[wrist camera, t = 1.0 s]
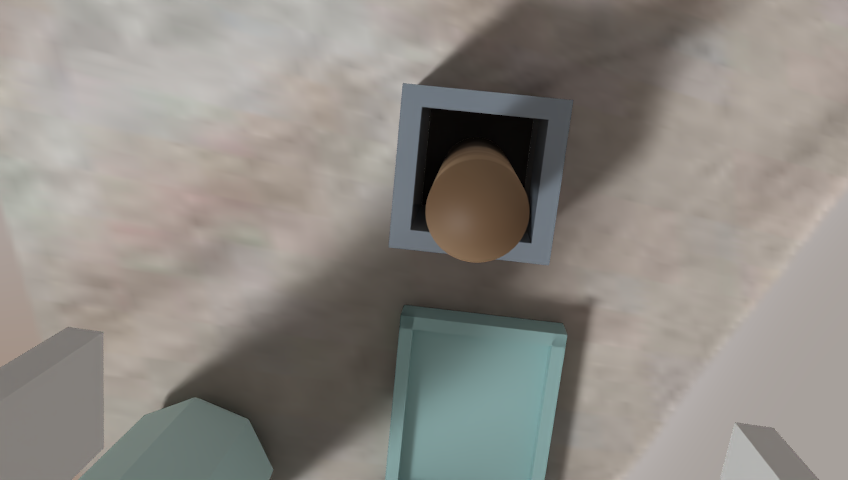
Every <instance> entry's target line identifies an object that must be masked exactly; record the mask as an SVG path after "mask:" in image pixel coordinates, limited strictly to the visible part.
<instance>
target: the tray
mask: <svg viewBox="0 0 848 480" xmlns="http://www.w3.org/2000/svg"><path fill="white" fill-rule="evenodd" d="M566 341H567V333H566V330H565V328H564V325H563V323H555V322H547V321H538V320H529V319H521V318H512V317H504V316H495V315H487V314H478V313H470V312H461V311H452V310H444V309H435V308H427V307H418V306H410V305H404V307H403V310H402V313H401V318H400V329H399V339H398V350H397V361H396V371H395V382H394V392H393V403H392V414H391V424H390V435H389V446H388V456H387V467H386V478H385V480H545V474H546V467H547V461H548V455H549V448H550V442H551V436H552V429H553V423H554V417H555V410H556V404H557V398H558V391H559V385H560V379H561V372H562V366H563V360H564V353H565V347H566Z"/></svg>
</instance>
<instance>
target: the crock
mask: <svg viewBox="0 0 848 480" xmlns="http://www.w3.org/2000/svg"><path fill="white" fill-rule="evenodd" d="M572 106H573V100H567V99H557V98H547V97H536V96H526V95H516V94H506V93H496V92H486V91H476V90H466V89H456V88H446V87H436V86H426V85H416V84H406V83H403V87H402V98H401V110H400V121H399V133H398V144H397V156H396V167H395V179H394V190H393V202H392V213H391V225H390V236H389V247H390V248H399V249H408V250H417V251H425V252H434V253H443V254H448V253H446V252H445V251H444V250H442V249H441V248H440V247H439V246H438V244H437V243H436V242H435V240H434V239H433V237H432V236H431V234H430V232H429V229H428V226H427V222H426V214H425V212H426V205H422V199H423V188H424V178H425V168H426V158H427V147H428V137H429V127H430V117H431V108H437V109H447V110H457V111H467V112H477V113H487V114H497V115H507V116H517V117H526V118H533V125H532V132H531V140H530V147H529V155H528V162H527V170H526V177H525V185H524V190H525V192H526V194H527V197H528V202H529V211H530V212H529V221H528V225H527V228H526V231H525V233H524V235H523V237H522V239H521V240H520V241H519V243H518V244H517V245H516V246H515V247H514V248H513V249H512V250H511V251H510V252H508V253H507V254H505V255H504V256H502V257H500V258H498V259H497V260H505V261H514V262H523V263H532V264H541V265H549V263H550V256H551V249H552V242H553V235H554V228H555V222H556V215H557V208H558V201H559V194H560V188H561V181H562V174H563V167H564V160H565V154H566V147H567V140H568V133H569V126H570V120H571V113H572Z"/></svg>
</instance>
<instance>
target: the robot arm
mask: <svg viewBox="0 0 848 480" xmlns="http://www.w3.org/2000/svg"><path fill="white" fill-rule="evenodd" d="M103 448H104V398H103V332H100V331H93V330H86V329H79V328H72V327H67V328H65V329H64V330H62V331H60V332H59V333H57V334H55V335H54V336H52V337H50V338H49V339H47V340H45V341H44V342H42V343H40V344H39V345H37V346H35V347H34V348H32V349H30V350H29V351H27V352H25V353H24V354H22V355H20V356H19V357H17V358H15V359H14V360H12V361H10V362H9V363H7V364H5V365H4V366H2V367H0V480H72V479H73V478H74V477H75V476H76V475H77V474H78V473H79V472H80V471H81V470H82V469H83V468H84V467H85V466H86V465H87V464H88V463H89V462H90V461H91V460H92V459H93V458H94V457H95V456H96V455H97V454H98V453H99V452H100V451H101V450H102V449H103ZM720 480H819V479H818V478H817V477H816V476H815V474H814V473H813V472H812V471H811V470H810V469H809V468H808V466H807V465H806V464H805V463H804V462H803V461H802V460H801V458H799V456H798V455H797V454H796V453H795V452H794V451H793V449H792V448H791V447H790V446H789V445H788V444H787V443H786V441H784V439H782V437H781V436H780V435H779V434H778V433H777V431H776V430H775V429H774V428H771V427H763V426H757V425H749V424H743V423H736V422H735V425H734V428H733V432H732V436H731V440H730V443H729V447H728V451H727V455H726V458H725V462H724V466H723V470H722V473H721V477H720Z"/></svg>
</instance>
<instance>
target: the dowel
mask: <svg viewBox="0 0 848 480" xmlns="http://www.w3.org/2000/svg"><path fill="white" fill-rule="evenodd" d="M529 212H530V211H529V202H528V197H527V194H526V192H525V190H524V188H523V186H522V184H521V182H520V180H519V179H518V177H517V175H516V173H515V171H514V170H513V168H512V166H511V164H510V162H509V161H508V159H507V157H506V155H505V153H504V152H503V150H502V149H501V148H500V147H499V146H498V145H497V144H496V143H494V142H492V141H490V140H488V139H485V138H480V137H471V138H466V139H464V140H461V141H459V142H458V143H456V144H455V145H454V146H453V147H452V148H451V149H450V150H449V151H448V153H447V154H446V156H445V158H444V161H443V163H442V165H441V167H440V170H439V172H438V174H437V176H436V179H435V181H434V183H433V185H432V188H431V190H430V192H429V195H428V198H427V202H426V212H425V214H426V222H427V226H428V229H429V232H430V234H431V236H432V237H433V239H434V240H435V242H436V243H437V244H438V246H439V247H440V248H441V249H442V250H444V251H445V252H446V253H448V254H449V255H451V256H452V257H455V258H457V259H459V260H462V261H466V262H474V263H481V262H488V261H492V260H495V259H498V258H500V257H502V256H504V255H505V254H507V253H508V252H510V251H511V250H512V249H513V248H514V247H515V246H516V245H517V244H518V243H519V241H520V240H521V239H522V237H523V235H524V233H525V231H526V228H527V225H528V221H529Z"/></svg>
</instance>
